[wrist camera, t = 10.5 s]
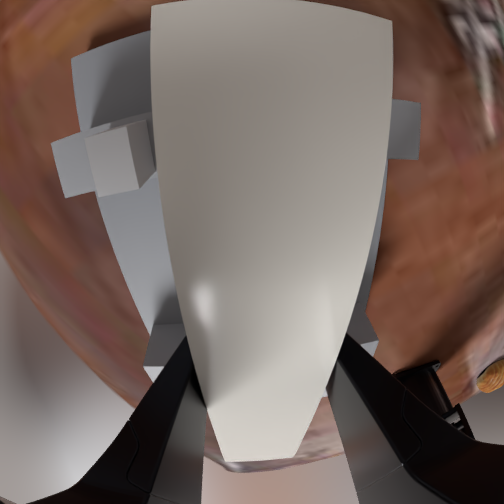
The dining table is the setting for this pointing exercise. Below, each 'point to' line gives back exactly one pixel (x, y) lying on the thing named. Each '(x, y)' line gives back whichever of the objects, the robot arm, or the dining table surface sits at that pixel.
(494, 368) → the pastry
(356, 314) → the grey pegged plate
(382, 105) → the clay strip
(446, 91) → the dining table surface
